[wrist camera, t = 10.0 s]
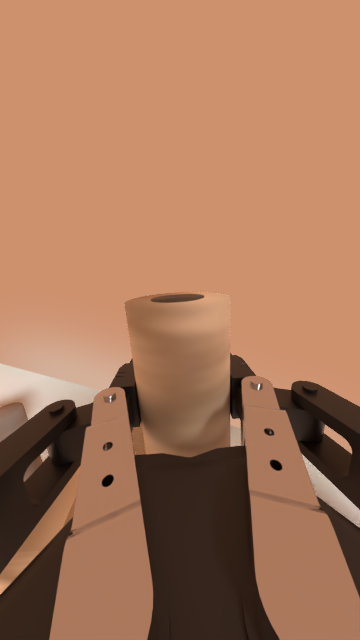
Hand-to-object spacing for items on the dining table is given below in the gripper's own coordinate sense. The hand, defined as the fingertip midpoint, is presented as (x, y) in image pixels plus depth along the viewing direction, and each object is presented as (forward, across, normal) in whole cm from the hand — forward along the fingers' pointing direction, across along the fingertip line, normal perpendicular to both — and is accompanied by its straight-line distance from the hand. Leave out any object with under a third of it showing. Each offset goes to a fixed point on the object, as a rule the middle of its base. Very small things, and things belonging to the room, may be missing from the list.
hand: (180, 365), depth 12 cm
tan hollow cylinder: (-3, 0, +6) cm, 7 cm away
